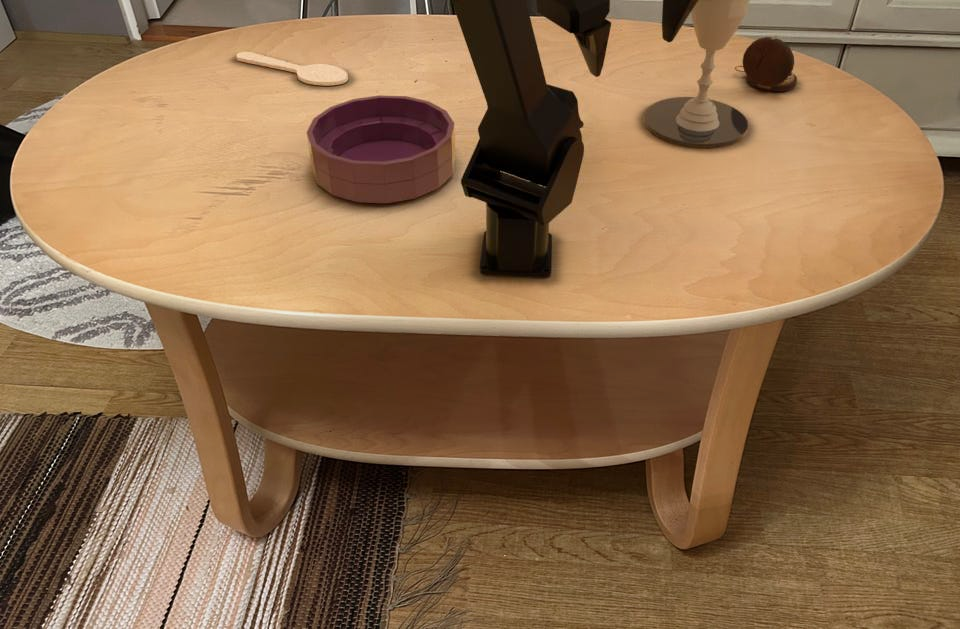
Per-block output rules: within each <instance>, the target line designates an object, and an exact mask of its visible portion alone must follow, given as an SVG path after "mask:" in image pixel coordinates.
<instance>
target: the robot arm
mask: <svg viewBox="0 0 960 629" xmlns="http://www.w3.org/2000/svg"><path fill="white" fill-rule="evenodd" d="M450 1H451V3H452V7H453V10H454V12H455V15H456V18H457V21H458V24H459V27H460V30H461V33H462V35H463V39H464V41H465V44H466V47H467V50H468V54H469V56H470V58H471V61H472V65H473V67H474V71H475V73H476V75H477V79H478V82H479V84H480V88H481V90H482V93H483V96H484V99H485V102H486V106H487V108H486V110H485V113H484V115H483V117H482V119H481V121H480V123H479V125H478V126H477V132H478V137H479V139H478V140H477V144H476V146H475V148H474V149H473V152H472V154H471V156H470V159H469V161H468V163H467V166H466V168H465V170H464V172H463V175H462V177H461V180H460V184H461V187H462V190H463V193H464V196H465V197H467V198H470V199H475V200H478V201H481V202H483V203H485V220H486V221H485V231H484V232H483V238H482V246H481V254H480V262H479V273H480V274H481V275H485V276H506V277H526V278H527V277H529V278H550V277H551V276H552V265H553V264H552V263H553V262H552V260H553V258H552V255H553V254H552V253H553V245H552V244H553V235H552V234H551V232H549V231H550V223H551V222H552V221H553V220H554V219H555V218H557V216H558V215H560V214H561V213H562V212H563V211H565V209H567V208H568V207H569V206H570V205H572V203H573V199H574V195H575V191H576V187H577V183H578V179H579V177H580V176H579V175H580V172H581V168H582V164H583V159H584V155H585V145H584V142H583V134H582V131H581V129H582V128H583V127H584V125H585V123H584V121H583V120H582V119H581V116H580V112H579V101H578V98H577V96H576V94H575V93H574V91H573V90H569V89H566V88H562V87H559V86H555V85H552V84H549V83H547V80H546V76H545V72H544V68H543V64H542V59H541V56H540V52H539V47H538V43H537V40H536V35H535V31H534V27H533V22H532V19H531V16H530V10H529V8H528V3H527V0H450ZM698 1H699V0H662V12H661V31H662V34H661V35H662V39H663V40H664V41H665V42H666V43H673V41H674V40H675V39H676V36H678V33H679V31H680V30H681V29H682V27H683V25H684V23H686V21H687V19H688V18H689V17H690V16H689V15H690V14H691V11H692V9H693V8H694V6H695V5H696V3H697V2H698ZM535 2H536V4H535V5H536V13H538V14H539V15H541V16H543V17H544V18H546V19H547V20H549V21H550V22H552V23H553V24H555V25H557V26H558V27H560V28H561V29H563V30H564V31H566V32H567V33H569V34H573V36H574V38H575V39H576V42H577V44H578V47H579V49H580V51H581V54H582V56H583V58H584V61H585V63H586V66H587V68H588V71H589V73H590V74H591V75H592V76H594V77H595V78H598V77H600V76H601V74H602V71H603V67H604V63H605V59H606V53H607V48H608V44H609V38H610V34H611V27H612V21H610V20H608V19H607V16H608V15H609V14H610V10H611V0H535Z"/></svg>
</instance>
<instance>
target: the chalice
mask: <svg viewBox="0 0 960 629" xmlns="http://www.w3.org/2000/svg"><path fill="white" fill-rule="evenodd" d="M749 5H750V0H699V1H698V2H697V3H696V5H695V6H694V8H693V9H692V11H691V12H690V14H691V19H692V20H691V21H692V26H693V29H694V32H695V36H696V39H697V42H698V46H699V47H700V48H701V49H703V50H705V57H704V59H703V62H702V63H701V64H700V68H701V72H702V73H701V76H700V78H699V79H697V80H696V83H697V85H698V88H699V89H698V94H697V96H694V97H695V98H693V99H690V100H689V101H688V102H686V103H685V104H684V107H683V108H682V109H681V111H680V114H679V115H678V116H677V117H676V123H677V124H678V125H679V126H681V127H683V128H685V129H688V130H692V131H711V130H714V129H716V128H717V127H718V126H719V124H720V123H719V120H718V118H717V117H718V114H717V112H716V106H715V105H714V103H713V102H712V101H710V100H711V99H710V98H708V91H709V88H710V86H711V85H713V84H714V82H713V80H712V77H711V74H712V72H713V70H714V69H715V68H716V65H715V58H714V57H715V54H716V52H717V51H720V50H722V49H725V47H726V46H727V44H728V43H729V41H730V40H731V39H732V37H733V36H734V35H735V33H736V32H737V30H739V27H740V25H741V23H742V22H743V20H744V19H745V16H746V15H747V12H748V10H749ZM709 99H710V100H709Z"/></svg>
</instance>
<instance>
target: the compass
mask: <svg viewBox="0 0 960 629" xmlns="http://www.w3.org/2000/svg"><path fill="white" fill-rule="evenodd" d="M789 46H790V45H788V44H787V43H786V42H785V41H783V40H782V39H779V38H778V36H777V35H775V36H773V37H772V36H764V37H760V38H758V39H756V40H754V41H753V42H751V44H750V45H748V47H747V48H746V49H745V51H744V53H743V56H742V65H736V66H735V67H734V70H735V71H736V72H739V73H745V75H746V80H747V82H748V83H749V84H750V85H751V86H753V87H755V88H757V89H761V90H764V91H768V92H784V91H785V92H786V91H788V90H790V89H793V88H795V86H796V85H797V82H798V77H797V75H796V74H794V72H793V70H794V67H795V56H794V53H793V51H792V49H791V47H789ZM740 67H741V68H743V70H739V69H737V68H740Z"/></svg>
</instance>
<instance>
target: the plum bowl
mask: <svg viewBox="0 0 960 629" xmlns="http://www.w3.org/2000/svg"><path fill="white" fill-rule="evenodd" d="M455 128H456V127H455V121H454V120H453V119H452V117H451V116H450V114H449V112H448V111H447V110H445V109H444V108H443V107H440V106H438V105H437V104H434V103H433V102H432V101H429V100H425V99H420V98H415V97H413V96H412V97H411V96H406V95H383V94H382V95H372V96H371V95H370V96H365V97H357V98H353V99H349V100H346V101H344V102H341V103H338V104H335V105H332V106H329V107H328V108H327V109H325V110H324V111H322V112H321V113H319V114H318V115H316V116H315V117H313V119H312V121H310V125H309V126H308V128H307V130H306V138H307V144H308V150H309V157H310V163H311V169H312V172H313V175H314V179H315V182H316V184H317V185H318V186H320V187H321V188H322V189H323V190H325V191H326V192H328V193H329V194H330V195H332V196H334V197H337V198H342V199H344V200H348V201H352V202H354V203H355V202H356V203H370V204H371V203H372V204H392V203H396V202H402V201H409V200H414V199H417V198H419V197H422V196H424V195H426V194H428V193H430V192H433V191H435V190H438V189H439V188H441V186H443V185H444V184H445V182H447V181H448V180H449V179H450V178H451V177H453V174H454V171H455V170H454V169H455V166H456V165H455V164H456V132H455V130H456V129H455Z"/></svg>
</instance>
